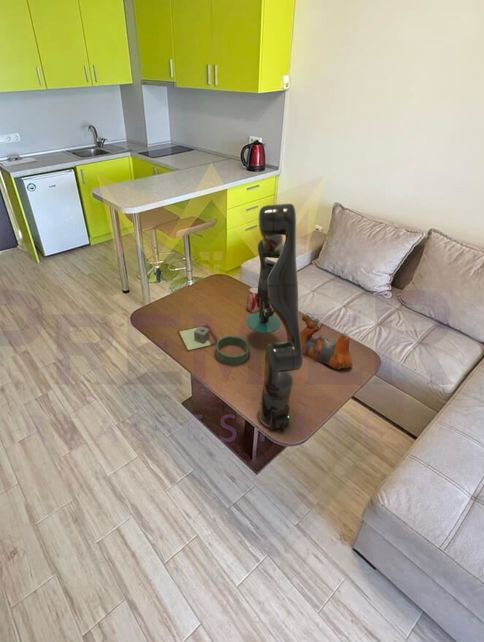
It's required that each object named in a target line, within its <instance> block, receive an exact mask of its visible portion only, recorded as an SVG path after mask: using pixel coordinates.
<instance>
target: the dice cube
mask: <svg viewBox="0 0 484 642" xmlns="http://www.w3.org/2000/svg"><path fill="white" fill-rule="evenodd" d="M196 328H197V329H196V330H195V331H194V341H197V342H199V343H202V344H204V343H205V342H206V341H207V340H209V339H210V328H207V327H204V326H201V325H199V326H198V327H196Z"/></svg>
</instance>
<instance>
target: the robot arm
mask: <svg viewBox="0 0 484 642" xmlns="http://www.w3.org/2000/svg"><path fill="white" fill-rule="evenodd" d="M258 228H259V233H260V235H261V238H262V239H260V240H259V241H258V243H257V253H258V258H259V263H260V268H259V277H258V283H257V287H258V292H257V294H256V299H257V307H259V310H260V311H259V312H260V314H259V318H260V316H261V310H263V311H264V317H263V322H264V323H267V322H268V320H269V317H271V316H273V315H276V317H277V318H278V319H279V320H280V322H281V323H282V325H283V327H284V329H285V333H286V339H287V341H278V342H270V343H268V344H267V345H266V348H265V354H264V371H263V372H264V373H263V384H262V392H261V399H260V400H261V401H260V403H259V404H260V408H259V415H258V418H259V421H260V423H261V424H262V425H263V426H265V428H269V430H270V431H274V430H277V429H280V432H284V431H285V427H286V426H287V425H289V423H290V416H289V414H290V408H291V407H290V399H291V393H292V387H293V381H294V379H293V376H292V375H291V373H290V372H295V371H299V370H300V369H301V368H302V365H303V355H302V346H301V337H300V332H301V330H300V317H299V315H300V314H299V283H298V282H299V281H298V269H297V211H296V207H295V205H294V204H293V203H277V204H266V205H263V206H262V207H261V208H260V209H259V211H258ZM284 236H285V239H284ZM271 259H277V260H276V261H275V260H271ZM266 311H268V312H267V313H266Z"/></svg>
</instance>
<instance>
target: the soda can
mask: <svg viewBox="0 0 484 642" xmlns="http://www.w3.org/2000/svg"><path fill="white" fill-rule="evenodd" d="M257 292H258V286H252V287H250V288H249V290H248V292H247V298H246V310H247V311H248V312H250V313H258V312H260V310H259V307H257V299H256V294H257Z"/></svg>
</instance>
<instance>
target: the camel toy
mask: <svg viewBox="0 0 484 642" xmlns="http://www.w3.org/2000/svg"><path fill="white" fill-rule="evenodd" d="M301 320H302V321H303V322H305V325H306V327H304V328H303V329H302V330H300V337H301V346H302V356H304V357H307V358H309V359H311V360H314V361H317V362H320V363H323V364H325V365H327V366H329V367H331V368H333V369H336V370H340V369H348V368H352V367H353V359H352V356H351V352H350V336H349V334H348V333H346V332H343V333H341V334H340V335H339V337H338V339H337V341H336V342H332V341H330V340H329V339H328V338H327V337H326V336H325V335H320V336H318V337H317V338H314V337H313V335H315V334H316V333H318V332H319V331H320V330H321V329H322V327H324V324H323V322H321V321H320V319H319V318H315V317H314V316H313V315H312V314H311V313H310V312H306V313H304V314H303V315H302V316H301Z"/></svg>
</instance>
